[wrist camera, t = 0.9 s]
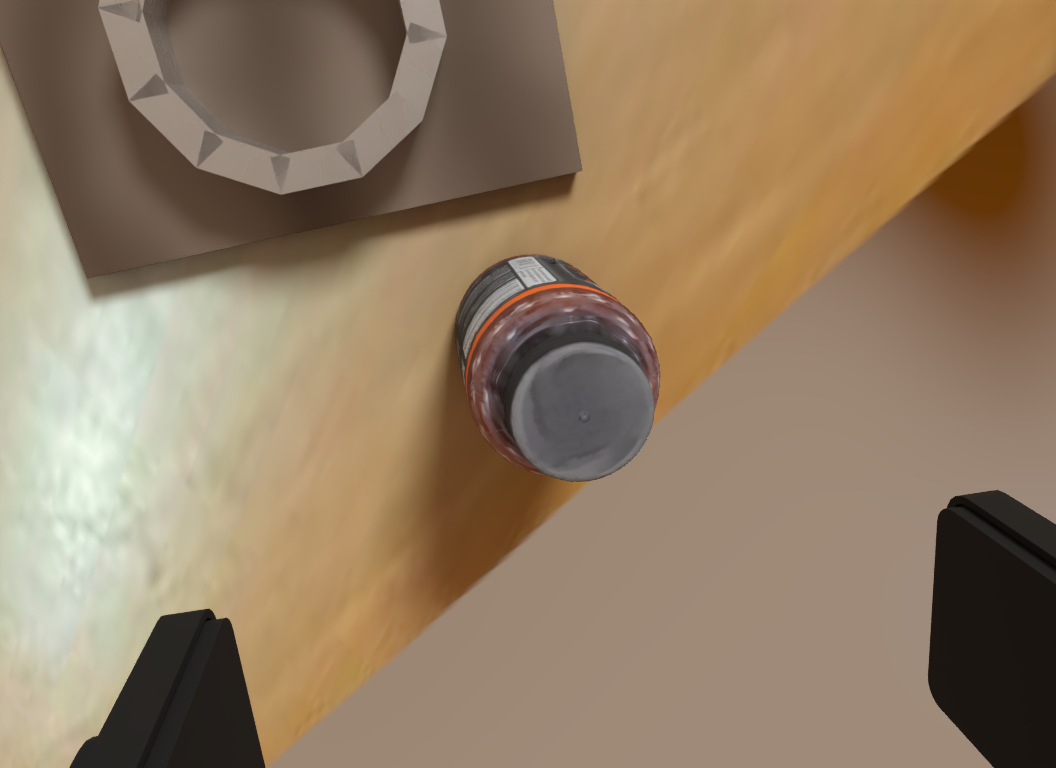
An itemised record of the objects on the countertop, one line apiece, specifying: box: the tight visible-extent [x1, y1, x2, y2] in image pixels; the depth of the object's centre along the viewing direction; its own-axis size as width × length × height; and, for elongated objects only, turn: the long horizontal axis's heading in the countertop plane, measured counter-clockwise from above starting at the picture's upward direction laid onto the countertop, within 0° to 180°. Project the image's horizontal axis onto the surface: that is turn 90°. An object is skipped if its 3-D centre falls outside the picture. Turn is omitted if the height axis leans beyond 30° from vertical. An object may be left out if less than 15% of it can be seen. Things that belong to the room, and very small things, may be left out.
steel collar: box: [98, 0, 447, 195], centre depth 27 cm, size 10×10×2 cm
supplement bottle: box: [455, 254, 660, 482], centre depth 28 cm, size 6×6×11 cm
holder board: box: [0, 0, 582, 278], centre depth 29 cm, size 18×13×1 cm
